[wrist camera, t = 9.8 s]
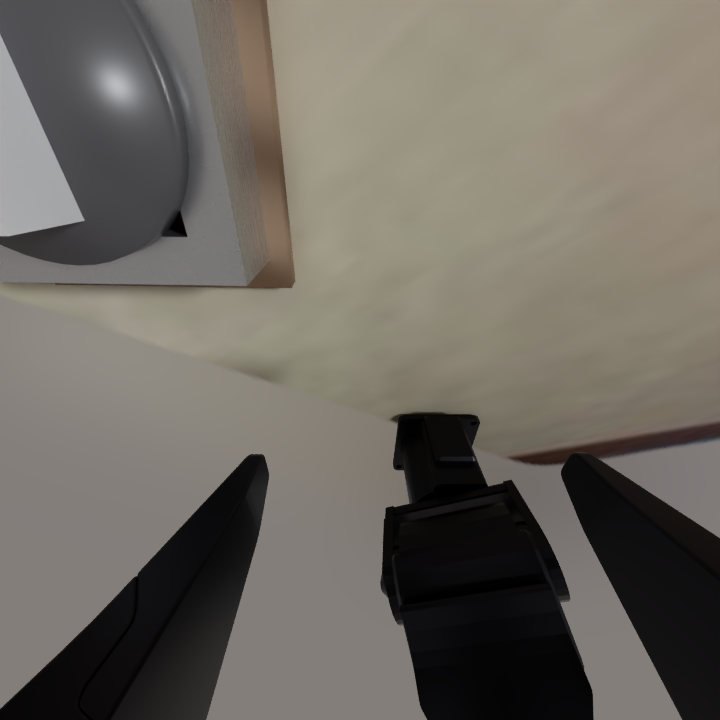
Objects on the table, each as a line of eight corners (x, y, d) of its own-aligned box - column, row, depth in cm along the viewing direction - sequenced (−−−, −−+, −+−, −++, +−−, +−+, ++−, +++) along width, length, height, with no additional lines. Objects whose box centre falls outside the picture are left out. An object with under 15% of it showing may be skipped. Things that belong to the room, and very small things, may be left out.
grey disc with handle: (241, 242, 14) (167, 293, 9) (52, 239, 14) (-153, 288, 8) (185, -57, 9) (-79, -403, 4) (-110, -70, 9) (-882, -460, 3)
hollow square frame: (269, 260, 16) (246, 286, 12) (59, 256, 15) (-22, 281, 12) (220, -81, 10) (149, -210, 6) (-128, -97, 9) (-391, -240, 6)
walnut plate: (295, 281, 18) (291, 287, 17) (72, 277, 17) (55, 284, 16) (253, -129, 10) (241, -162, 9) (-150, -148, 10) (-209, -185, 9)
